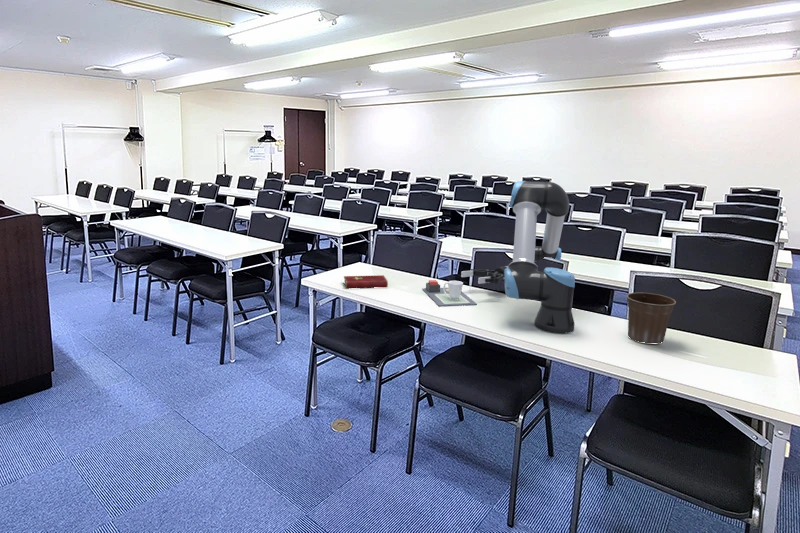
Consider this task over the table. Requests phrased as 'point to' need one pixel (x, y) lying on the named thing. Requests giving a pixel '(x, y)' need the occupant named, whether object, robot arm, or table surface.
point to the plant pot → (648, 316)
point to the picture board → (443, 300)
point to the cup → (454, 289)
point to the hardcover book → (365, 281)
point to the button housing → (432, 288)
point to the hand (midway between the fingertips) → (469, 277)
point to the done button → (433, 282)
